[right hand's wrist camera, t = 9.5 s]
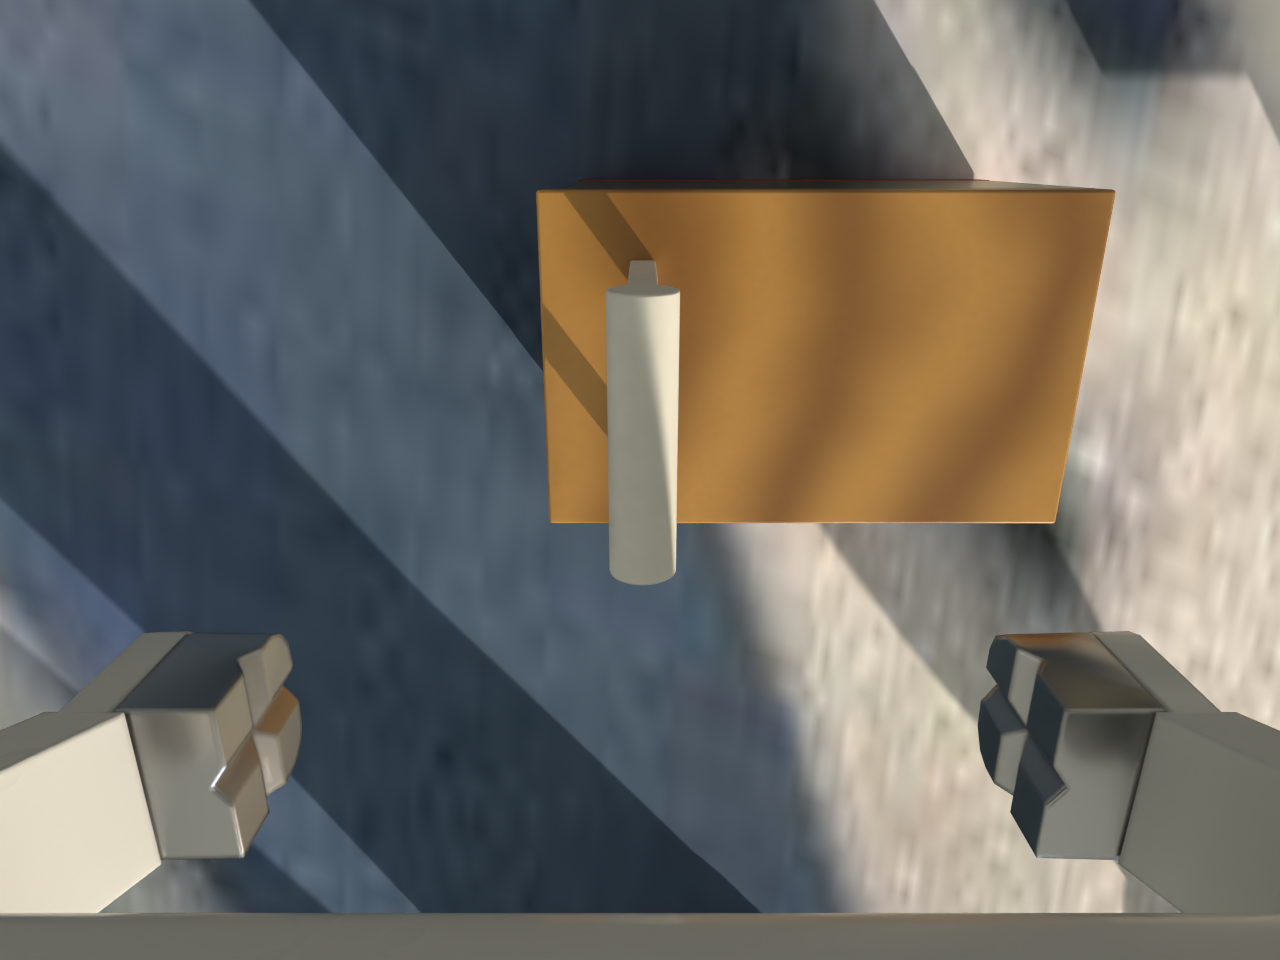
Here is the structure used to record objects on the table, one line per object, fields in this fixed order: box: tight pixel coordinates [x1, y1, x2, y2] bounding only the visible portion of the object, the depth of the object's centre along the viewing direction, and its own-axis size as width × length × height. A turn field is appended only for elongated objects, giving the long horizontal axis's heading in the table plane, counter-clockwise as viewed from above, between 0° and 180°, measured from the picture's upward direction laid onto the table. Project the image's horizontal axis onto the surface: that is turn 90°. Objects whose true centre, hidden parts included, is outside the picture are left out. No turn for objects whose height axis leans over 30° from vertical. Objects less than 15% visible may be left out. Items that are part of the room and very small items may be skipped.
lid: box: [536, 189, 1115, 585], centre depth 22 cm, size 16×10×8 cm, turn 90°
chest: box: [563, 180, 1095, 189], centre depth 30 cm, size 15×10×9 cm, turn 90°
